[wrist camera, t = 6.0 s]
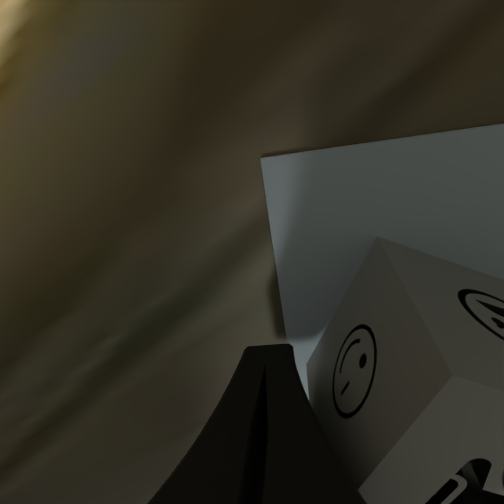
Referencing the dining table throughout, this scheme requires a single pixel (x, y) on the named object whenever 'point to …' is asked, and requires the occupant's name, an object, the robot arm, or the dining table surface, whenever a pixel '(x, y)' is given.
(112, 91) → the dining table surface
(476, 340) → the light grey cube
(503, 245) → the mat
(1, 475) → the dining table surface
